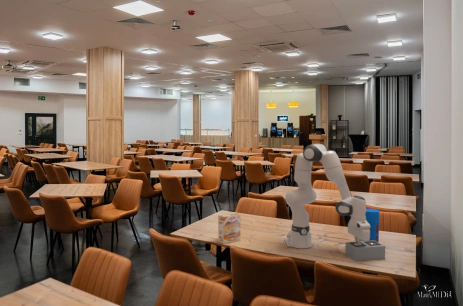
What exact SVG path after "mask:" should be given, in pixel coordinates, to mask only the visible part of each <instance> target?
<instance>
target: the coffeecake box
mask: <svg viewBox="0 0 463 306" xmlns="http://www.w3.org/2000/svg"><path fill="white" fill-rule="evenodd" d="M217 216H218V225H217V226H218V227H217V228H218V229H217V231H218V232H217V233H218V235H217V236H218V238H217V239H218V243H219V244H221V245H227V244H231V243H235V242H241V216H242V215H241V213H239V212H229V213H224V214H218V215H217Z"/></svg>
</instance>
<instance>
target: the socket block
mask: <svg viewBox="0 0 463 306" xmlns="http://www.w3.org/2000/svg"><path fill="white" fill-rule="evenodd" d="M369 242H374V243H376V244H370V243H369ZM360 244H361V245H355V241H346V242H345V246H344V247H345V249H344V250H345V251H344V252H345V253H344V254H345V256H346V257H348V258H349V259H351V260H353V261H354V262H362V260H365V261H375V260H385V258H386V246H385V245H384V244H382V243H380V242H379V243H378V242H376V241H374V240H372V241H362V240H361V242H360Z"/></svg>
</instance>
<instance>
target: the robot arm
mask: <svg viewBox="0 0 463 306" xmlns="http://www.w3.org/2000/svg"><path fill="white" fill-rule="evenodd" d="M315 162H316V163H317V162H320V163H321V165H322V167H323V171H324V175H325V176H326V179H327V180H328V181H330V182H332V183H334V184H335V185H336V186H337V189H338V191H339V194H340V197H341V200H339V201H338V202H337V203H336V204H335V206H334V207H335V212H336V213H337V214H338V215H339V216H344V217H345V216H350V219H349V221H348V223H347V233H348V234H350V235H352V236H353V237H354V242H355V243H356V244H358V245H360V242H361V241H369V239H370V229H369V228H370V224H369V223H368V222H367V220H366V216H365V213H366V209H367V202H366V199H365V198H364V197H363V196H361V195H352V193H351V191H350V188H349V185H348V183H347V180H346V176H345V173H344V170H343V169H344V168H343V166H342V163H341V160H340V158H339V156H338V154H337V153H336V151H335V150H329V148H328V147H327V145H325V144H324V143H313V144H310V145H309V144H308V145H307V146H306V147H304V149H303V151H302V152H301V153H300V152H299V153H298V154H297V156H296V159H295V163H294V164H295V165H294V173H293V174H294V175H293V179H294V182H296V184H297V188H298V189H292V190H290V191H289V192H287V193H285V196H284V199H285V200H284V201H285V203H286V204H287V205H288V206H289V207H290V210H291V213H292V215H291V217H292V224H291V229H290V230H289V232H288V233H287V234H286V238H284V242H285V244H286V246H287V247H289V248H295V249H309V248H311V247H312V246H314V245H315V244H314V242H313V241H312V240H313V239H312V232H310V230H311V229H310V228H311V227H310V213H308V211H307V210H306V208H305V205H309V204H312V203H314V202H315V201H316V199H317V192H316V191H315V190H314V188H313V185H312V170H313V169H312V168H313V167H312V166H313V163H315Z"/></svg>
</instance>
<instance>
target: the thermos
mask: <svg viewBox="0 0 463 306" xmlns="http://www.w3.org/2000/svg"><path fill="white" fill-rule="evenodd" d="M365 216H366V220H367V222H368V223H369V224H370V228H369V229H370V239H369V241H372V240H374V241H376V242H378V243H380V242H379V241H380V240H379V239H380V238H379V237H380V235H379V233H380V210H378V209H375V208H366V213H365Z"/></svg>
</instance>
